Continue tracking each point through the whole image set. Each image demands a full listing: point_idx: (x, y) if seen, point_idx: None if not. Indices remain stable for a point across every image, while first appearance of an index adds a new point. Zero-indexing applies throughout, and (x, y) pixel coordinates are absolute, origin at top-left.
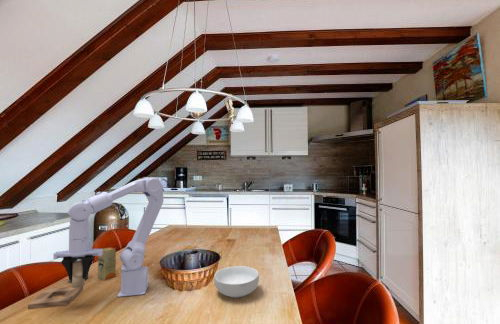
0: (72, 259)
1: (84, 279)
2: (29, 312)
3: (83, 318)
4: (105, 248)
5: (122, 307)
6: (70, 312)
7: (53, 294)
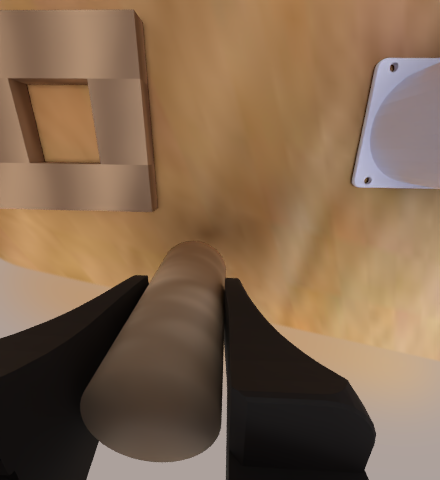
0: (46, 457)
1: (224, 286)
2: (45, 233)
3: None
4: None
5: (375, 278)
6: None
7: (20, 82)
